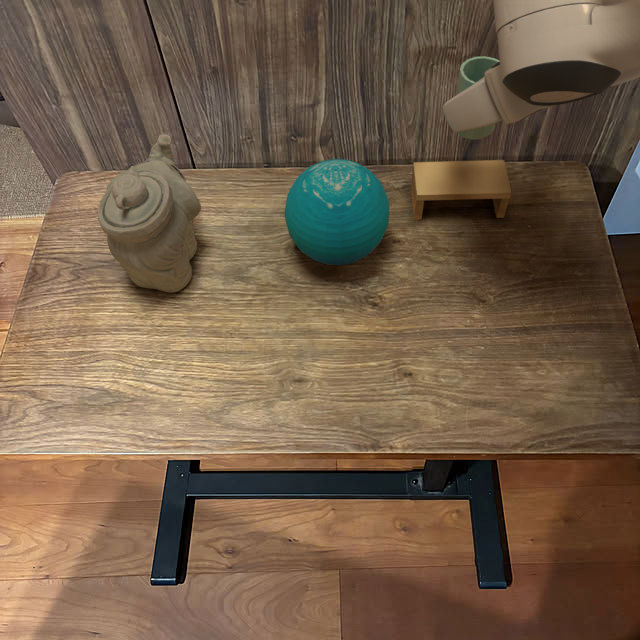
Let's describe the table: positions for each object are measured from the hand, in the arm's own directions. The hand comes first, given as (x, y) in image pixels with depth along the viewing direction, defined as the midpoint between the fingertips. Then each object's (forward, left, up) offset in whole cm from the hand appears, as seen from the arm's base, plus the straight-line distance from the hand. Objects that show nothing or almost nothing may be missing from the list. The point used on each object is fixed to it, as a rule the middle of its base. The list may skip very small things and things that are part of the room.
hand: (475, 95), depth 84 cm
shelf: (0, +1, -20) cm, 20 cm away
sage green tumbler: (-1, 0, -5) cm, 5 cm away
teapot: (+41, +21, -20) cm, 50 cm away
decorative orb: (+16, +14, -20) cm, 29 cm away
